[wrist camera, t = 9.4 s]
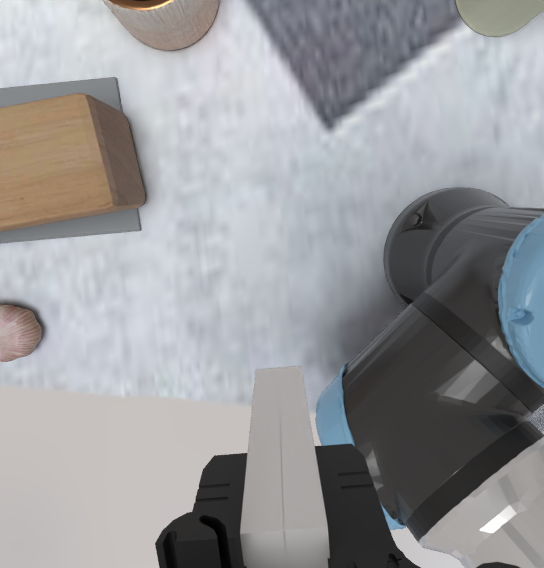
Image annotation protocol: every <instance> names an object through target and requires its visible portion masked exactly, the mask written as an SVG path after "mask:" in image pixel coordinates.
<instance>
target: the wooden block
mask: <svg viewBox="0 0 544 568" xmlns="http://www.w3.org/2000/svg"><path fill="white" fill-rule="evenodd" d="M143 204H145V192H144V188H143V184H142V179H141V175H140V171H139V167H138V162H137V158H136V154H135V150H134V145H133V141H132V137H131V133H130V128H129V124H128V120H127V118H126V117H125V115H124V114H123V112H121V111H119V110H117V109H115V108H113V107H111V106H109V105H107V104H106V103H104V102H102V101H100V100H98V99H96V98H94V97H92V96H91V95H88V94H84V93H75V94H70V95H64V96H59V97H54V98H48V99H43V100H38V101H33V102H27V103H22V104H17V105H11V106H6V107H1V108H0V232H3V231H9V230H14V229H20V228H26V227H31V226H37V225H43V224H49V223H54V222H60V221H66V220H71V219H77V218H83V217H88V216H94V215H100V214H105V213H111V212H117V211H122V210H128V209H134V208H139V207H140V206H142V205H143Z"/></svg>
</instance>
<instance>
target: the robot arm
mask: <svg viewBox="0 0 544 568" xmlns="http://www.w3.org/2000/svg"><path fill="white" fill-rule="evenodd" d="M384 269H385V274H386V277H387V280H388V283H389V285H390V287H391V289H392V290H393V292H394V293H395V295H396V296H397V297H398V298H399V299H400V300H401V301H402V302H403V303H404V304H405V305H406V306H407V308H406V309H404V310H403V311H402V312H401V313H400V314H399V315H398V316H397V317H396V318H395V319H394V320H393V321H392V322H391V323H390V324H389V325H388V326H387V327H386V328H385V329H384V330H383V331H382V332H381V333H380V334H379V335H378V336H377V337H376V338H375V339H374V340H373V341H372V342H371V343H370V344H368V345H367V346H366V347H365V348H364V349H363V350H362V351H361V352H360V353H359V354H358V355H357V356H356V357H355V358H354V359H353V360H352V361H351V362H349V363H347V364H345V365H344V366H343V367H342V368H341V370H340V372H339V375H338V376H337V377H336V378H335V379H334V380H333V381H332V383H331V384H330V385H329V386H328V387H327V388H326V389H325V390H324V391H323V392H322V394H321V395H320V397H319V399H318V401H317V405H316V427H317V432H318V436H319V439H320V442H321V445H322V446H314V441H313V435H312V428H311V422H310V416H309V410H308V404H307V398H306V392H305V386H304V380H303V374H302V368H301V366H291V367H279V368H267V369H256V370H255V381H254V391H253V402H252V413H251V423H250V433H249V434H250V435H249V444H248V453H242V454H230V455H217V456H214V457H213V458H212V459H211V461H210V462H209V463H208V464H207V465H206V467H205V468H204V469H203V472H202V475H201V480H200V483H199V489H198V492H197V496H196V503H195V504H194V508H193V511H192V512H189V513H186V514H184V515H182V516H181V517H179V518H177V519H175V520H173V521H172V522H171V523H170V524H169V525H168V526H167V527H166V528H165V529H164V530H163V531H162V532H161V534H160V536H159V538H158V539H157V541H156V543H155V545H156V550H157V555H158V561H159V566H160V568H420V567H419V566H417V565H415V564H414V563H412V562H411V561H410V560H409V559H407V558H406V557H405V555H404V554H403V552H402V551H400V550H399V549H398V548H397V546H396V544H395V542H394V540H393V538H392V536H391V532H390V530H395V529H403V528H405V527H406V526H407V528H408V529H409V530H410V532H411V533H412V534H413V536H414V537H415V539H416V540H417V541H418V543H419V544H420V545H421V546H422V547H423V548H427V549H430V550H434V551H438V552H442V553H447V554H450V555H451V556H453V557H455V558H457V559H458V560H460V562H461V563H462V565H463V566H464V567H465V568H544V434H542V433H541V432H540V431H539V430H538V429H537V428H536V427H535V426H534V425H533V424H531V423H530V422H529V421H528V417H529V416H530V415H531V414H532V413H533V412H534V411H535V410H537V409H538V408H539V407H540V406H541V405H542V404H544V209H542V208H517V207H509V206H508V205H507V204H506V203H505V202H504V201H503V200H501V199H500V198H498V197H497V196H495V195H493V194H491V193H488V192H485V191H482V190H479V189H474V188H446V189H441V190H437V191H434V192H431V193H428V194H426V195H424V196H422V197H420V198H419V199H417V200H416V201H414V202H413V203H412V204H410V205H409V206H408V207H407V208H406V209H405V210H404V211H403V212H402V213H401V214H400V216H399V217H398V218H397V220H396V221H395V222H394V224H393V226H392V228H391V230H390V232H389V234H388V237H387V240H386V244H385V249H384ZM531 412H532V413H531Z"/></svg>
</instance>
